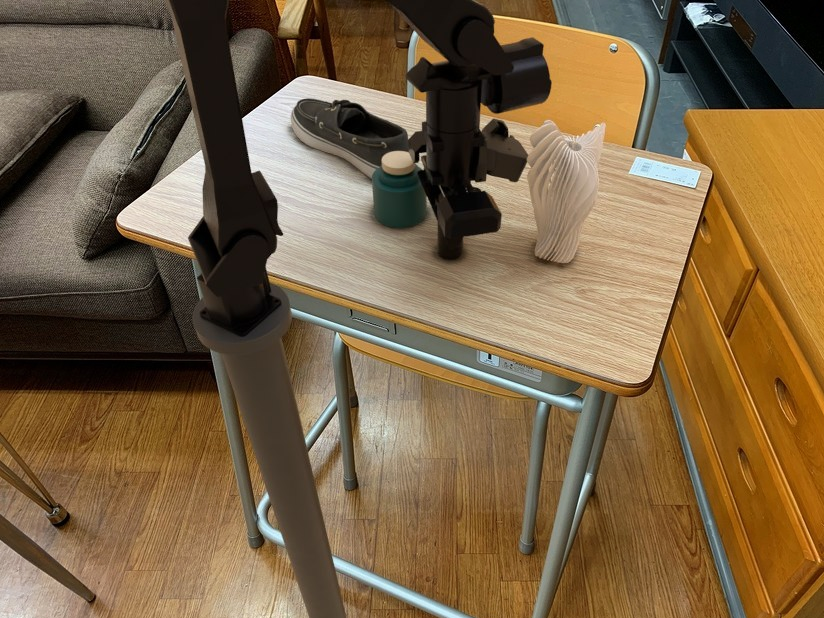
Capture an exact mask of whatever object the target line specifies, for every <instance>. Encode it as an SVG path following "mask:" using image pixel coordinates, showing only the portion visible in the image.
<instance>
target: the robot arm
mask: <svg viewBox="0 0 824 618" xmlns="http://www.w3.org/2000/svg"><path fill="white" fill-rule="evenodd" d="M385 1H386V2H387V3H388V4H390V5H391V7H393V8H394V10H395V11H396V12H397V13H398V14H399V16H400V17H401V18H402V19H403V20H404V21H405V23H406V24H408V26H409V27H410V28H411V29H412V30H413V31H414V32H415V34H417V35H418V37H419V38H420V39H421V40H423V42H424V43H426V45H428V46H430V47H431V48H432V49H433V50H434V51H435V52H437V53H438V54H439V55H440V56H442V57H443V58H444V59H445V60H443V61H442V60H441V61H438V62H433V63H432V62H431V61H429V60H428V59H427V58H426V57H424V56H421V57H420V58H419V60H418V62H417V63H416V64H415V65H414V66H412V67H410V69H409V70H408V71H407V72H406V73H405V76H404V77H405V79H406V81H408V82H409V83H410V84H411V85H412V86H413V87H414V88H415V89H417V91H418V92H420V93H425V121H421V130H418V131H417V130H416V131H415V132H414V133H413V134H412V135H411V136H410V137H408V140H409V154H410V157H411V159H412V161H413V163H415V164H419V162H420V161H421V164H422V167H423V169H422V170H419V171H418V172H417V175H418V177H419V180H420V182H421V184H422V187H423V189H424V191H425V193H426V196H427V200H428V203H429V205H430V208H431V210H432V212H433V215H434V217H435V219H436V221H437V222H438V224H439V226H440V228H441V230H442V233H443V235H444V237H445V239H446V241H447V244H448V246H449V248H450V249H457V248H459V246H460V244H461V242H462V239H463V240H464V238H466V237H472V236H479V235H487V234H492V233H493V234H494V233H498V232H499V231H500V229H502V228H501V227H502V216H503V215H502V212H501V210H500V208H499V206H498V205H497V203H496V201H495V199H494V196H492V195H491V194H490V193H488V192H487V191H486V190H482V189H481V188H479V187H477V186H473V185H472V182H473V181H474V182H475V183H477V184H478V183H484V182H487V175H488V176H490V177H494V178H499V179H503V180H508V181H509V182H510V183H518V182H519V181H520V178H521V176H522V174H523V172H524V169H526V166H527V164H528V162H527V157H528V155H529V153H528V152H527V150H526V149H525V147H524V146H523V145H522V143H521V142H520V141H519V140H518V139H516V138H515V136H514V135H512V134H509V127H508V125H507V124H506V123H505V121H504V120H502V119H498V118H492V119H491V120H490V121H489V122H487V124H486V125H485V126H484V127H483V128H482V129H480V128H481V126H480V125H481V107H482V106H484V107H487V109H488V110H489V112H491V113H492V114H495V115H499V114H504V113H508V112H512V111H516V110H520V109H525V108H529V107H533V106H537V105H542V104H544V103H545V102H546V101H547V100H548V99H549V97H550V95H551V90H552V83H553V81H552V79H551V75H550V74H551V73H550V69H549V65H548V62H547V60H546V58H545V56H544V47H545V44H544V43H542V42H541V41H539V39H537V38H535V37H533V36H532V37H526V38H523V39H520V40H519V41H516V42H511V43H506V44H500V42H499V40H498V39H497V37H496V36H495V24H496V20H495V18H494V17H495V16H494V14H492V12H491V11H490V10H489V8H487V7H486V6H484V5H482V4H481V3H480V2H479V1H477V0H385ZM164 2H165V4H166V7H167V9H168V11H169V14H170V17H171V20H172V25H173V30H174V34H175V38H176V39H175V40H176V43H177V47H178V51H179V57H180V61H181V65H182V69H183V70H182V71H183V74H184V78H185V83H186V87H187V91H188V97H189V101H190V103H191V104H190V105H191V109H192V113H193V119H194V123H195V127H196V132H197V136H198V138H199V139H198V140H199V145H200V149H201V153H202V158H203V162H204V177H203V183H202V187H201V188H202V215H203V216H201V219H199V221H198V223H197V224H196V225H195V227H194V228H193V229H192V231H191V232H190V234H189V235H188V237H187V240H188V243H189V245H190V247H191V251H192V253H193V255H194V257H195V260H196V263H197V266H198V268H199V271H200V274H199V275H198V276H197V277H196V280H197V283H198V286H199V290H200V293H201V295H202V296H201V297H203V299H204V302H205V305H206V307H205V308H204V309H203V310H201V311H200V313H199V314H200V317H201V318H203V319H205V320H207V321H209V322H211V323H213V324H215V325H217V326H219V327H221V328H223V329H225V330H227V331H229V332H232V333H234V334H236V335H238V336H240V337H244V336H246V335H248V334H249V333H250V332H251V331H252V330H253V329H254V328H256V327H257V326H258V325H259V324H260V323H261V322H262V321H264V320H265V319H266V318H267V317H268V316H269V315H270V314H272V313H273V312H274V311H275V310H276V309H277V308H278V307H279V306H281V304H282V302H281V299H279V298H277V297H274V296H272V295H270V293H271V287H270V283H271V281H270V278H269V273H268V270H267V262H268V259H270V257H271V256H272V255H273V254H275V253H276V251H277V249H278V236H279V237H283V236H284V232H283V230H282V229H281V227H280V224H279V220H278V219H279V218H278V216H279V214H278V213H279V204H278V198H277V197H276V195H275V193H274V192H273V190H272V189H271V186H270V185H269V183H268V182H267V180H266V178H265V176H264V175H263V173H262V171H261V170H256V171H253V172H252V168H251V163H250V161H251V160H250V156H249V155H250V154H249V150H248V144H247V139H246V133H245V127H244V123H243V122H244V121H243V117H242V116H243V115H242V109H241V104H240V103H241V102H240V98H239V94H238V93H239V92H238V87H237V81H236V80H237V79H236V75H235V70H234V64H233V58H232V53H231V47H230V41H229V36H228V30H227V14H228V8H229V2H230V0H164ZM420 154H424V155H422V156H420ZM440 191H442V194H443V196H444V198H443V199H442V200H441V201H440V202H439V203H438V204H437V205H435V196H436V195H437V193H439V192H440ZM277 302H278V303H277ZM242 332H243V333H242Z"/></svg>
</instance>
